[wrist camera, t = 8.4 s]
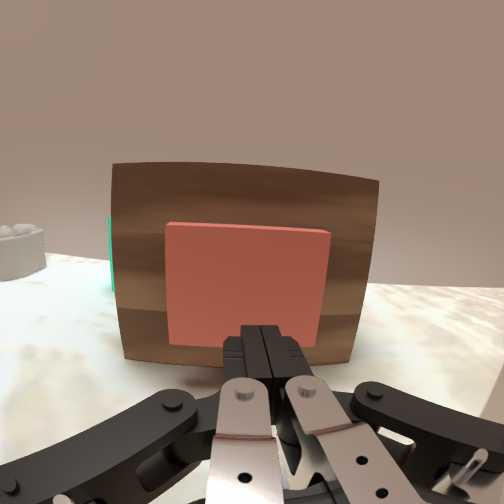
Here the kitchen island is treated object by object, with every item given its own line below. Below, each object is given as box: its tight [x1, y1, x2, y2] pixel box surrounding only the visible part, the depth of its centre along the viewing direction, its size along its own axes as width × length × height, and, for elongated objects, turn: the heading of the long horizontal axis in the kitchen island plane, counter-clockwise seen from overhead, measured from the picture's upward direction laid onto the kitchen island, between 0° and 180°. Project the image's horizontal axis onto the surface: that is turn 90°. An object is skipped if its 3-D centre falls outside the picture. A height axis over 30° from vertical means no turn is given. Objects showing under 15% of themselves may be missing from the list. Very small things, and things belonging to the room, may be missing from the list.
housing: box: [111, 162, 379, 367], centre depth 25 cm, size 12×20×16 cm, turn 95°
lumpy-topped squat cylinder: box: [0, 224, 46, 281], centre depth 35 cm, size 10×13×9 cm
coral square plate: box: [165, 222, 331, 347], centre depth 21 cm, size 10×10×8 cm
